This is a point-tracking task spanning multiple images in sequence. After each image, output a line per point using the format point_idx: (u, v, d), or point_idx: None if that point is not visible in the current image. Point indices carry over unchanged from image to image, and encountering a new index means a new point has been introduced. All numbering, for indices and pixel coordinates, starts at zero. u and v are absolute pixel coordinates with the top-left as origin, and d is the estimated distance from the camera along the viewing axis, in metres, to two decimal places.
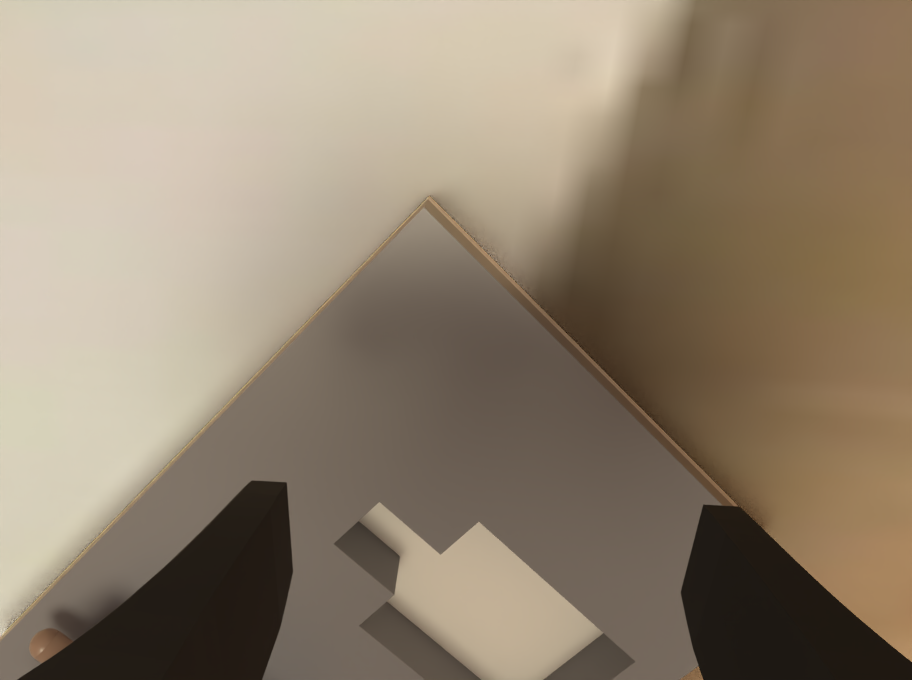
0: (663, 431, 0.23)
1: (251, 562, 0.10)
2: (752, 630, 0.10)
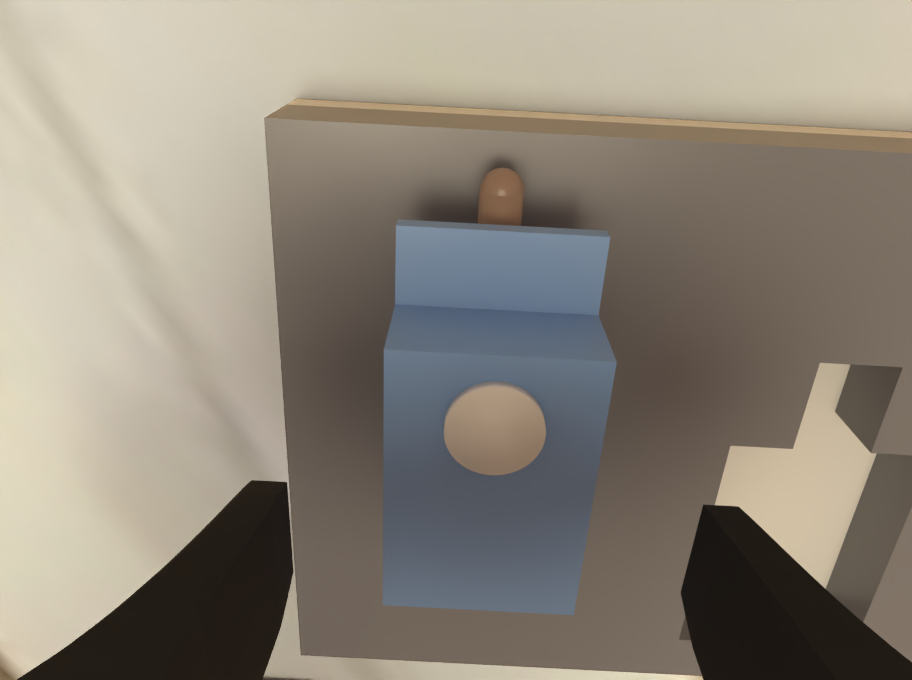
0: None
1: (252, 562, 0.10)
2: (752, 630, 0.10)
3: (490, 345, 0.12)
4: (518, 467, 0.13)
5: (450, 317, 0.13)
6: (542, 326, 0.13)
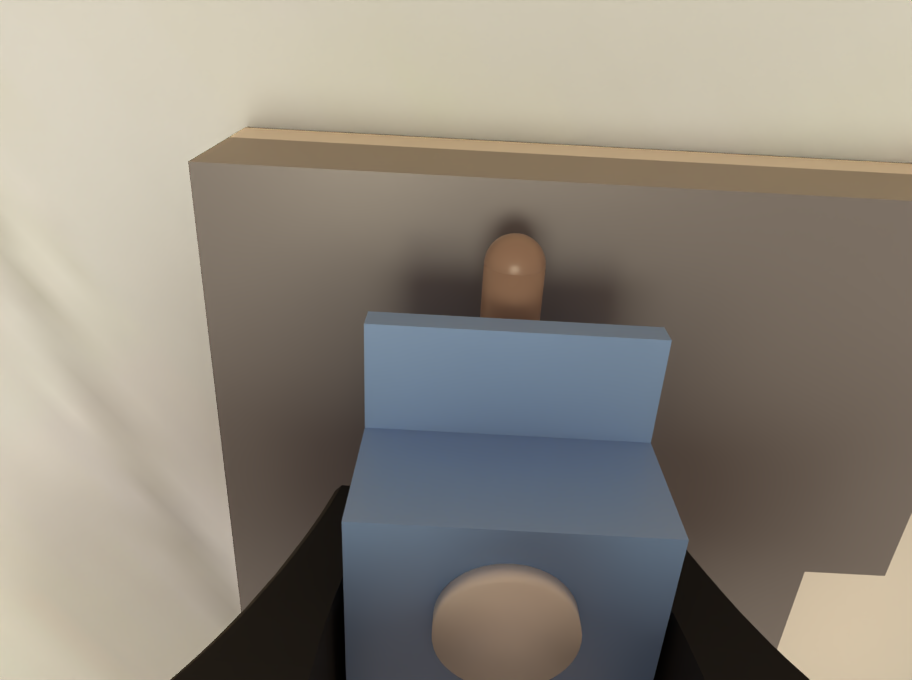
0: None
1: None
2: None
3: (500, 509, 0.08)
4: (540, 679, 0.09)
5: (442, 451, 0.09)
6: (573, 467, 0.09)
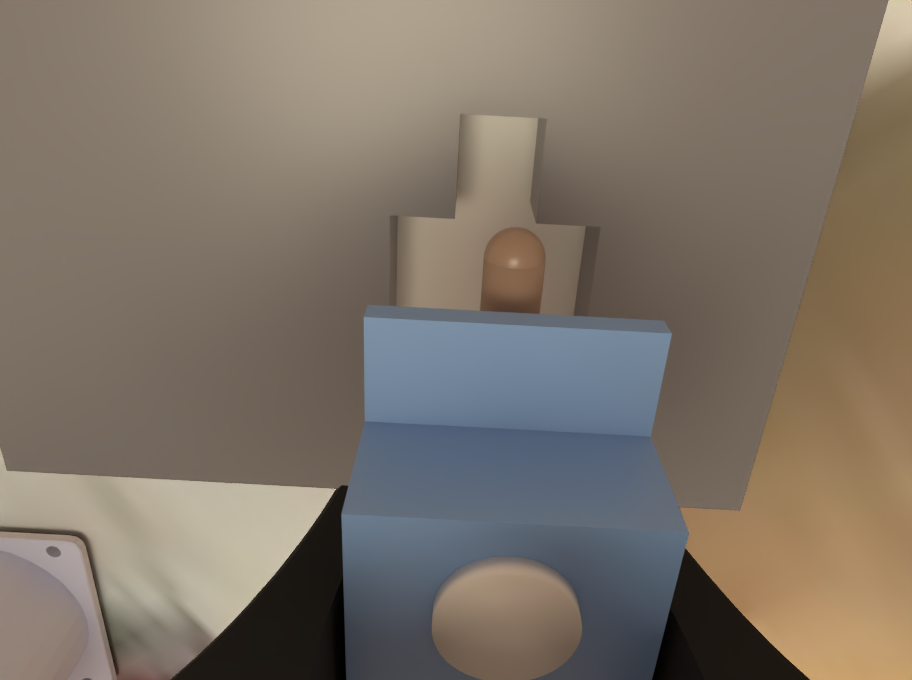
0: None
1: None
2: None
3: (500, 501, 0.08)
4: (540, 672, 0.09)
5: (442, 445, 0.09)
6: (573, 460, 0.09)
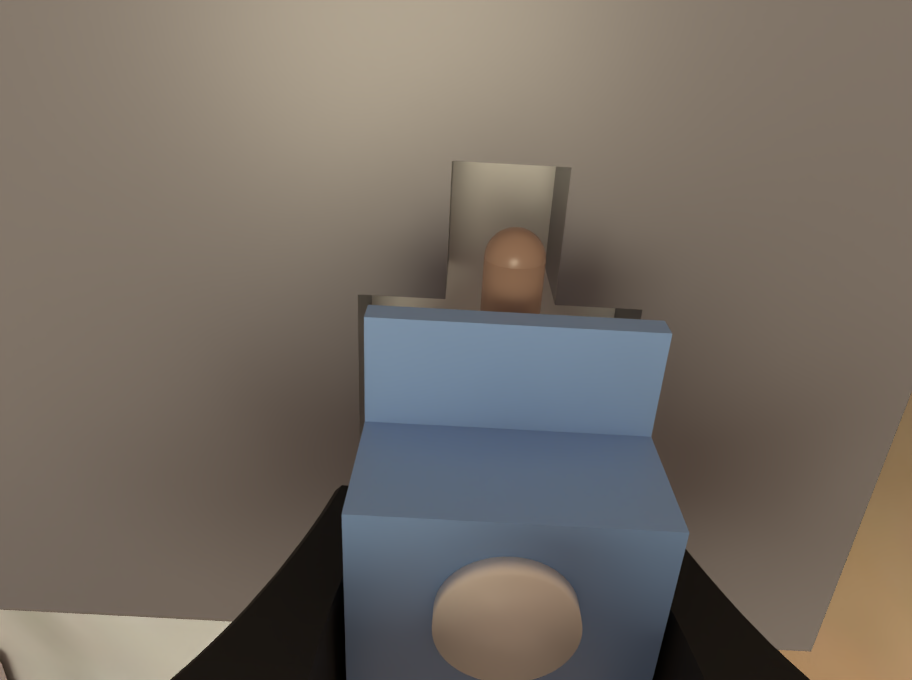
0: None
1: None
2: None
3: (500, 502, 0.08)
4: (540, 672, 0.09)
5: (442, 445, 0.09)
6: (574, 460, 0.09)
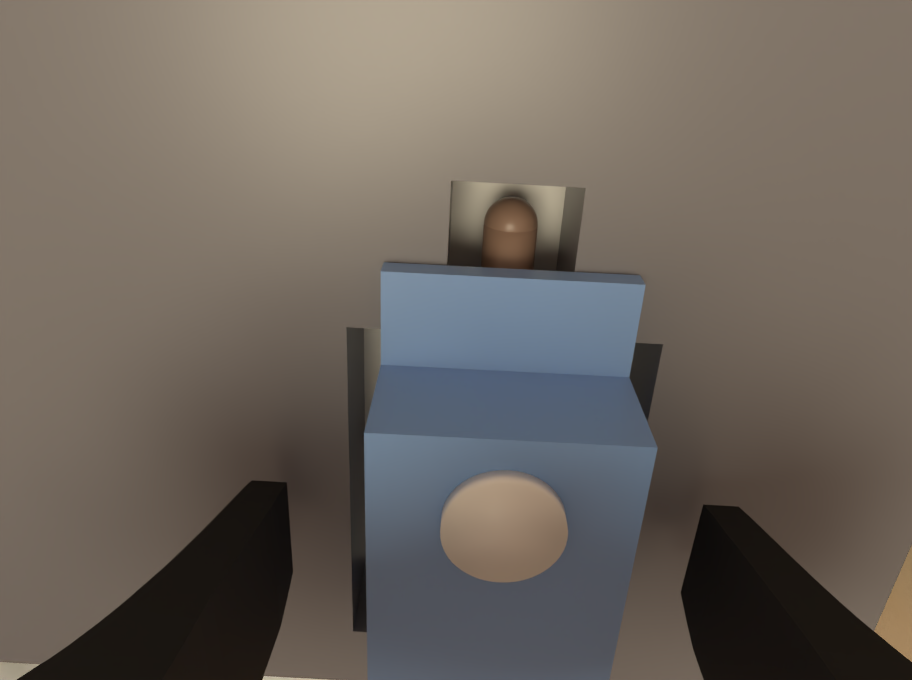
0: None
1: (251, 562, 0.10)
2: (752, 630, 0.10)
3: (498, 424, 0.10)
4: (533, 573, 0.10)
5: (448, 383, 0.11)
6: (561, 395, 0.11)
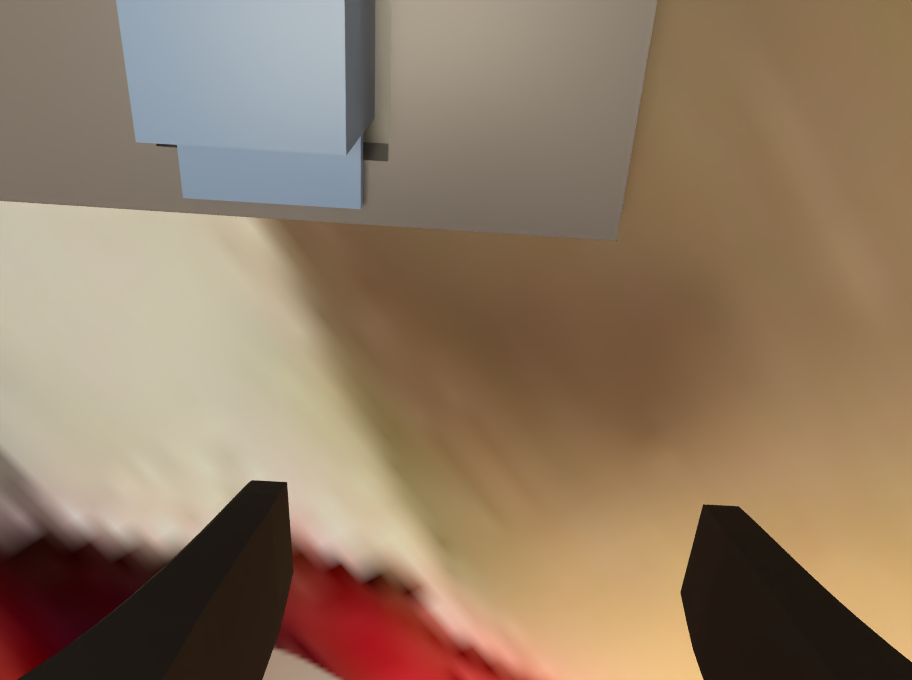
0: None
1: (252, 562, 0.10)
2: (752, 630, 0.10)
3: None
4: None
5: None
6: None
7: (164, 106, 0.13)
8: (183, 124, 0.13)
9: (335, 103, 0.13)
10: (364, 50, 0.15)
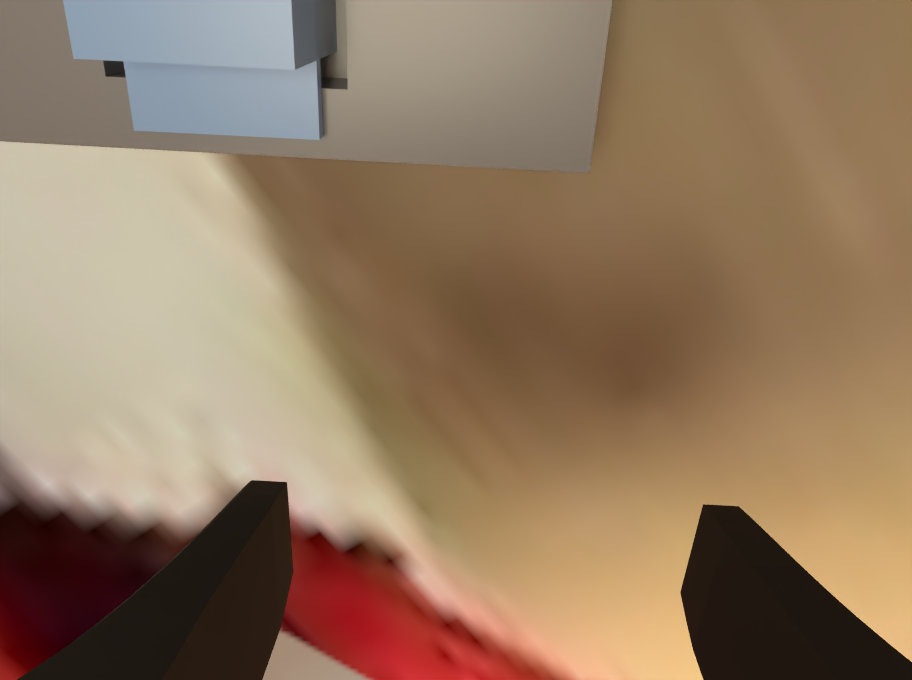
0: None
1: (252, 562, 0.10)
2: (752, 630, 0.10)
3: None
4: None
5: None
6: None
7: (101, 18, 0.12)
8: (122, 38, 0.13)
9: (281, 12, 0.12)
10: None
